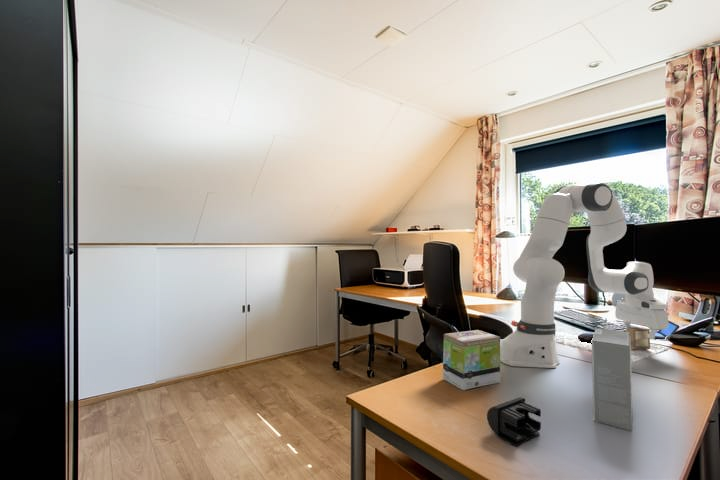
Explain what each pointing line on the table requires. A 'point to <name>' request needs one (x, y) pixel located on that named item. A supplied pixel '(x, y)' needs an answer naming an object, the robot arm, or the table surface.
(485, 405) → the table surface
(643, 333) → the brown rectangular block
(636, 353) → the carpet tile
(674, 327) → the handheld game console
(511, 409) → the end cap
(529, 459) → the table surface
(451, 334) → the tea box
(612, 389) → the hard drive box
